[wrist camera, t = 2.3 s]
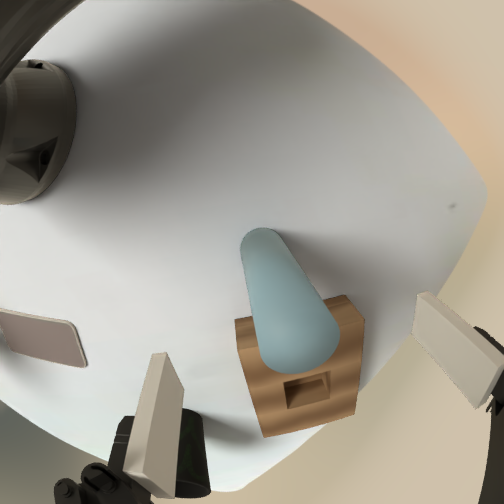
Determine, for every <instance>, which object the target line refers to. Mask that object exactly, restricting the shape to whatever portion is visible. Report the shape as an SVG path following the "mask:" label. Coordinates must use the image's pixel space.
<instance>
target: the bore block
mask: <svg viewBox="0 0 504 504" xmlns="http://www.w3.org/2000/svg"><path fill="white" fill-rule="evenodd" d="M323 302H324V303H325V305H326V307H327V308H328V310H329V311H330V313H331V314H332V316H333V317H334V319H335V321H336V322H337V324H338V326H339V330H340V339H339V343H338V346H337V348H336V350H335V351H334V353H333V354H332V355H331V357H330V358H329V359H328V360H327V361H325V362H324V363H323V364H321V365H320V366H318V367H316V368H314V369H312V370H310V371H307V372H304V373H298V374H284V373H280V372H277V371H274V370H272V369H271V368H269V367H268V366H267V365H266V364H265V363H264V362H263V360H262V358H261V355H260V351H259V346H258V341H257V336H256V331H255V326H254V320H253V316H250V317H245V318H240V319H235V330H236V341H237V351H238V354H239V358H240V361H241V365H242V368H243V372H244V375H245V379H246V382H247V385H248V389H249V392H250V395H251V399H252V402H253V405H254V408H255V412H256V415H257V418H258V421H259V424H260V428H261V431H262V434H263V437H264V438H266V437H271V436H276V435H281V434H286V433H290V432H295V431H299V430H303V429H307V428H311V427H315V426H318V425H322V424H325V423H329V422H332V421H335V420H338V419H342V418H345V417H348V416H351V415H354V413H355V408H356V401H357V394H358V387H359V379H360V371H361V361H362V351H363V338H364V323H365V319H364V318H363V317H362V315H361V314H360V313H359V311H358V310H357V309H356V308H355V306H354V305H353V304H352V303H351V301H350V300H349V299H348V298H347V297H346V295H341V296H338V297H334V298H330V299H326V300H323Z"/></svg>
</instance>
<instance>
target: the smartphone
mask: <svg viewBox="0 0 504 504" xmlns="http://www.w3.org/2000/svg"><path fill="white" fill-rule="evenodd" d="M0 328H1V330H2V333H3V335H4V337H5V340H6V342H7V345H8V347H9V348H10V349H11V350H12V351H13V352H15V353H18V354H22V355H26V356H29V357H33V358H37V359H41V360H45V361H49V362H53V363H58V364H63V365H67V366H72V367H77V368H84V367H85V366H86V359H85V357H84V354H83V350H82V348H81V347H80V341H79V338H78V335H77V332H76V329H75V327H74V325H73V324H72V323H71V322H69V321H66V320H60V319H54V318H48V317H42V316H36V315H31V314H26V313H21V312H16V311H11V310H6V309H2V308H0Z"/></svg>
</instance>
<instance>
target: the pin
mask: <svg viewBox="0 0 504 504" xmlns="http://www.w3.org/2000/svg"><path fill="white" fill-rule="evenodd" d="M240 252H241V258H242V263H243V268H244V274H245V279H246V284H247V289H248V295H249V300H250V305H251V310H252V315H253V320H254V326H255V331H256V336H257V341H258V346H259V351H260V355H261V358H262V360H263V362H264V363H265V364H266V365H267V366H268V367H269V368H271V369H272V370H274V371H277V372H280V373H284V374H298V373H304V372H307V371H310V370H312V369H314V368H316V367H318V366H320V365H321V364H323V363H324V362H325V361H327V360H328V359H329V358H330V357H331V355H332V354H333V353H334V351H335V350H336V348H337V346H338V343H339V339H340V330H339V326H338V324H337V322H336V321H335V319H334V317H333V316H332V314H331V313H330V311H329V310H328V308H327V307H326V305H325V303H324V302H323V300H322V299H321V297H320V296H319V294H318V293H317V291H316V290H315V288H314V287H313V285H312V284H311V282H310V281H309V279H308V277H307V276H306V274H305V273H304V271H303V270H302V268H301V267H300V265H299V264H298V262H297V261H296V260H295V258H294V257H293V255H292V254H291V252H290V251H289V249H288V248H287V246H286V245H285V243H284V242H283V240H282V239H281V237H280V236H279V235H278V234H277V233H276V232H275V231H273V230H271V229H268V228H257V229H254V230H252V231H250V232H249V233H248V234H247V235H246V236H245V237H244V238H243V240H242V242H241V246H240Z"/></svg>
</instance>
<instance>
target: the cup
mask: <svg viewBox="0 0 504 504" xmlns="http://www.w3.org/2000/svg"><path fill="white" fill-rule="evenodd" d="M210 493H211V488H210V481H209V474H208V466H207V459H206V450H205V441H204V432H203V422H202V418H201V416H200V415H199V414H198V413H196V412H194V411H192V410H188V409H183V408H182V414H181V424H180V434H179V445H178V457H177V469H176V484H175V497H177V498H201V497H205V496H207V495H209V494H210Z"/></svg>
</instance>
